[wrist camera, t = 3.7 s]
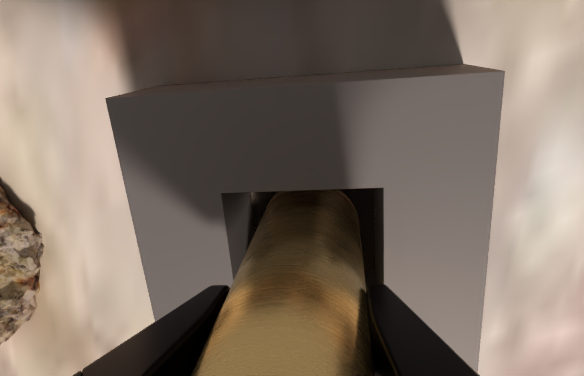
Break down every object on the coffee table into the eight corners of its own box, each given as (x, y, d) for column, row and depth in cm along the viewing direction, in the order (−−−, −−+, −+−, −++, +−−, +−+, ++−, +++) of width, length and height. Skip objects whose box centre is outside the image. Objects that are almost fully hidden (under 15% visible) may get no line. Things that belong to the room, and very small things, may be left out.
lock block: (464, 63, 11) (504, 71, 9) (448, 331, 14) (474, 401, 12) (157, 85, 13) (105, 98, 10) (201, 328, 15) (170, 392, 13)
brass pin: (358, 178, 12) (398, 488, 4) (360, 267, 13) (396, 673, 5) (258, 182, 12) (90, 471, 4) (268, 268, 13) (147, 645, 5)
